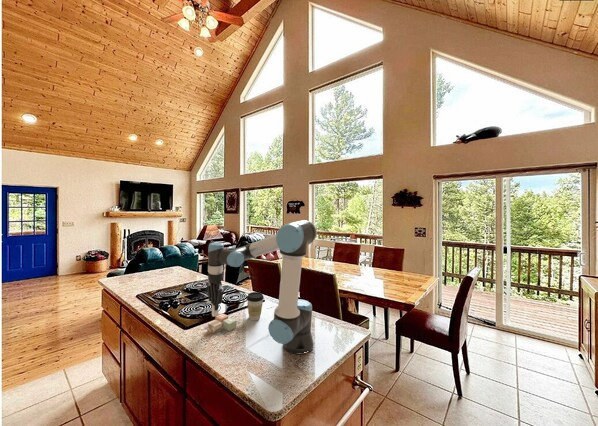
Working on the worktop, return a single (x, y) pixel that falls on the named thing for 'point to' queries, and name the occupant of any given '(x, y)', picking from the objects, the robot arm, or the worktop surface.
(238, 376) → the worktop surface
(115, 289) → the worktop surface
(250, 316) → the coffee cup
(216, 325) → the birch block
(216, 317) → the terracotta block
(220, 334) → the square tile
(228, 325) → the sage block
